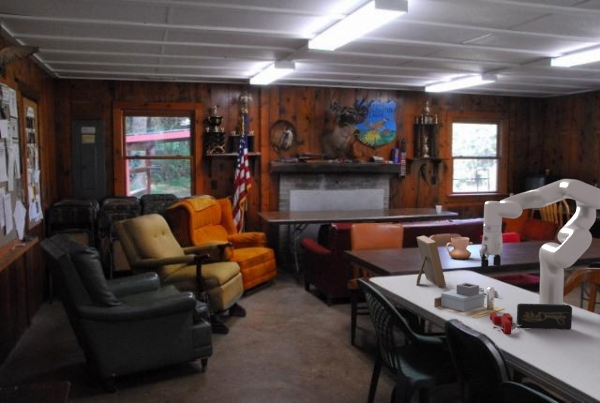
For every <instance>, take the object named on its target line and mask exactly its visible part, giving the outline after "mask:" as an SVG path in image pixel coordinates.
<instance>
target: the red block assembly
mask: <svg viewBox="0 0 600 403" xmlns="http://www.w3.org/2000/svg"><path fill="white" fill-rule="evenodd" d="M489 320H490V321H491V322H492V324H493V325H495V326H493V325H492V328H493V329H498V327H497V326H500V327H499V330H501V331H502V333H503V334H504V335H505V334H506V335H511V334H512V330H513V328H512V327H513V316H512V315H511V314H510V312H509V313H508V312H504V313H503V315H498V314H497V312H495V313H490V314H489Z"/></svg>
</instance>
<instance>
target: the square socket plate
mask: <svg viewBox="0 0 600 403" xmlns="http://www.w3.org/2000/svg"><path fill="white" fill-rule="evenodd" d="M479 288H480V285H478V284H474V283H468V282H464V283H459V284H456V288H455V289H451V290H447V291H445V292H441V295H440V297H441V306H444V307H448V308H451V309H455V310H459V311H463V312H464V311H468V310H471V309H474V308H477V307H481V306H484V304H485V298H486V295H484V293H485V291H484V292H480V291H479Z"/></svg>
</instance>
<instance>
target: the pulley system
mask: <svg viewBox="0 0 600 403" xmlns="http://www.w3.org/2000/svg"><path fill="white" fill-rule="evenodd" d="M479 291H480V292H484V295H485V297H487V292H486V293H485V289H484V288H483V287H479ZM494 299H499V292H498V291H497V290H495V289H494Z"/></svg>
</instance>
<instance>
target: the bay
mask: <svg viewBox="0 0 600 403" xmlns="http://www.w3.org/2000/svg"><path fill="white" fill-rule="evenodd" d="M433 301H434V305H433V306H434V308H436V309H441V310H444V311H448V312H452V313H455V314H460V315H464V316H467V317H469V318H470V317H471V318H474V319H479V318H482V317H484V316H488V315H490V313H497V312H500V311H503V310H505V308H503V307H499V306H498V307H497V306H494V310H492V311H490V310H487V303H486V304H485V303H484V306H481V307H477V308H474V309H471V310H468V311H464V312H463V311H459V310H455V309H451V308H448V307H444V306H441V296H438V297H434V300H433ZM468 320H469V319H468ZM469 321H470V320H469Z"/></svg>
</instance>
